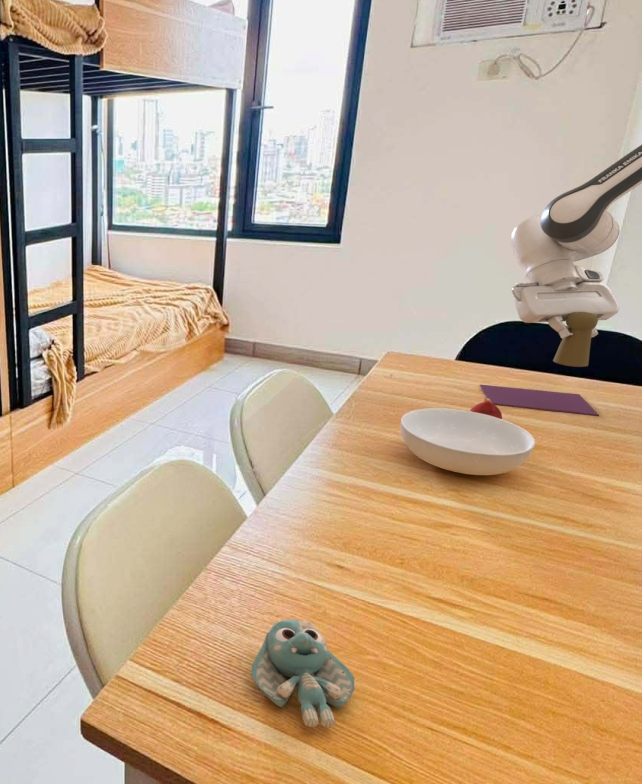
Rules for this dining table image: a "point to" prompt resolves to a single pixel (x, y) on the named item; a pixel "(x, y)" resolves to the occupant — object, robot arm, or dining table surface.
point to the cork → (577, 340)
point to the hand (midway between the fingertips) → (580, 336)
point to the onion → (487, 409)
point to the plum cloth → (538, 399)
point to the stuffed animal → (302, 671)
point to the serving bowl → (466, 441)
